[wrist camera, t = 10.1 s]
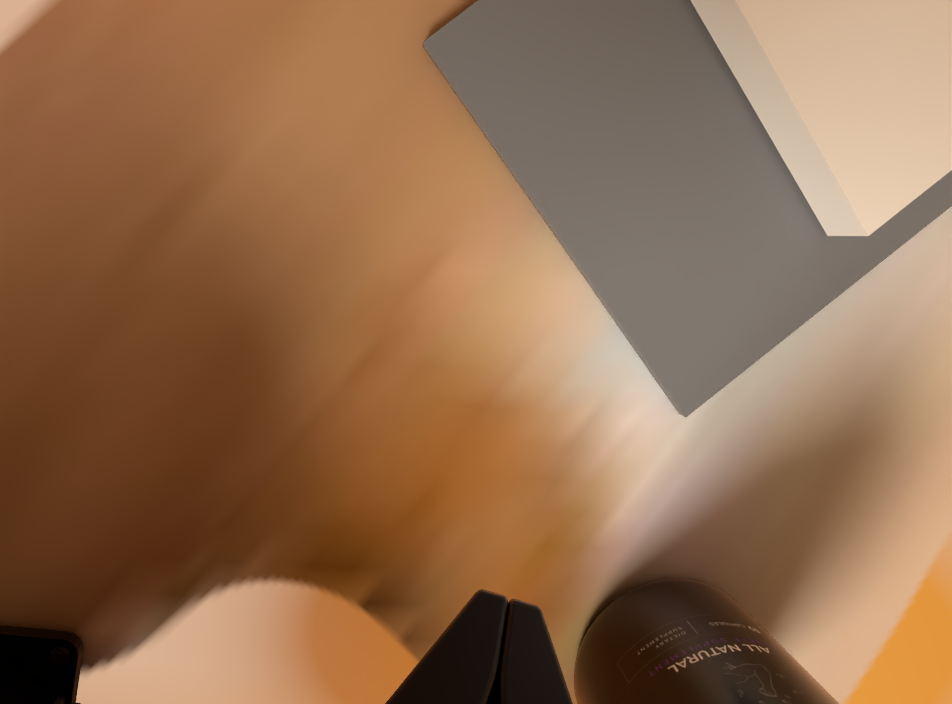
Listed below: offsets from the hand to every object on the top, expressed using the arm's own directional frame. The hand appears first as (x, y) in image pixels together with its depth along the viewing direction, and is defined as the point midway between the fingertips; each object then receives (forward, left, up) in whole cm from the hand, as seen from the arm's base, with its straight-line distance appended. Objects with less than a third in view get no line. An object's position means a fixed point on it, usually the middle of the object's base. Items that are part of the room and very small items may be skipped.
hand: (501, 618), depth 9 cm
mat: (+9, +12, -13) cm, 20 cm away
